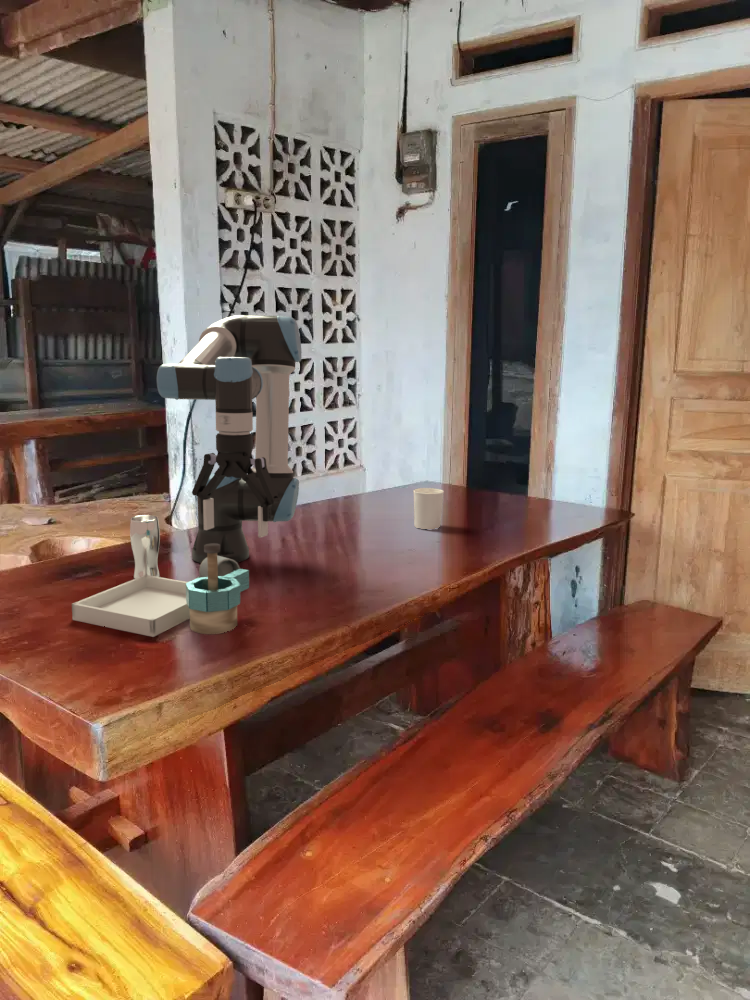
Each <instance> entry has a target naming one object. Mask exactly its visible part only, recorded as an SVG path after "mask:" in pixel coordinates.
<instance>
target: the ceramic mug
mask: <svg viewBox="0 0 750 1000" xmlns="http://www.w3.org/2000/svg"><path fill="white" fill-rule="evenodd" d="M217 563H218V576H225V575H227V574H229V573H231V572H234V571H236V570H238V569H241V567H240V565H239V562H236V561H234V560H232V559H229V558H225V557H221V556H218V555H217ZM199 564H200V565H199V567H198V568H199V569H198V574H199V575H198V576H197V577H195V579H197V578H201V577H208V564H207V557H206V558H205V559H204V560H203V561H202V563H199Z"/></svg>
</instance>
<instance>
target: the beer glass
mask: <svg viewBox="0 0 750 1000" xmlns="http://www.w3.org/2000/svg"><path fill="white" fill-rule="evenodd" d="M160 531H161V530H160V523H159V517H158V516H157V515H149V514H142V515H141V514H140V515H135V516H132V517H130V525H129V536H130V539H129V540H130V544H131V550H132V554H133V558H134V573H133V579H136V578H138V577H141V576H143V575H150V576H156V577H160V571H159V567H158V557H159V550H160V540H161V532H160Z"/></svg>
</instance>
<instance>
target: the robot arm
mask: <svg viewBox="0 0 750 1000" xmlns="http://www.w3.org/2000/svg"><path fill="white" fill-rule="evenodd" d="M301 342H302V341H301V336H300V330H299V325H298V323H297V321H296V319H295V318H293V317H292V316H285V315H284V316H282V315H247V314H246V315H245V314H238V315H232V316H228V317H224V318H221V319H220V320H218V321H215V322H213V323H212V324H210V325H209V326H207V327H206V328H205V329H204V330H203V331H202V332H201V333H200V336H199V340H198V343H197V344H196V345H194V347H193V348H192V349H191V350H190V351H189V352H188V353H187V354H186V355H185V356H184V357H183V358H182V359H181V360H180V361H179V362H178V363H174V362H173V363H163V364H161V365H160V366H159V367H158V369H157V373H156V387H157V391H158V394H159V395H160V396H161V398H164V399H170V400H171V399H172V400H174V399H175V400H176V401H177V400H197V401H198V400H203V401H204V400H205V401H208V400H209V401H215V430H216V431H217V432H218V433H216V434H215V450H216V452H217V454H216V453H214V452H210V453H206V454H204V456H203V464H202V467H201V469H200V472H199V474H198V476H197V479H196V482H195V484H194V486H193V489H192V491H191V495H193V496H196V499H197V524H198V526H197V529H198V530H197V533H196V537H195V540H194V543H193V547H192V548H191V549H192V550H191V556H192V560H193V561H194V562H197V563H199V564H201V563H202V561H203V560H204V559H205V558H206V557H207V553H205V552H204V545H206V544H211V543H215V544H220V552H218V553H217V555H218V556H221V557H225V558H229V559H232V560H234V561H236V562H237V563H240V562H244V561H245V560H247V559H248V558H249V557H250V549H249V546H248V543H247V539H246V536H245V534H244V531H243V521H246V522H257V537H258V538H264V537H266V536H269V522H273V523H277V522H290V520H292V519H293V517H294V516H295V512H296V508H297V505H298V498H299V490H300V481H299V480H300V479H298V478H296V477H294V471H293V469H292V468H291V467H290V466H289V421H290V419H289V418H290V416H289V413H290V412H289V410H290V408H289V407H290V405H289V404H290V375H291V374H292V373H293V372H294V371H295V369H296V363H299V362H301V361H302V357H303V356H302V353H303V352H302V343H301ZM255 398H256V399H255ZM254 399H255V400H256V402H255V405H256V406H255V407H256V409H255V411H256V412H255V458H253V455H252V453H253V449H254V444H253V443H254V440H253V437H254V436H253V434H252V433H250V432H252V431H253V429H254V425H253V421H254V420H253V419H254V417H253V416H254V415H253V400H254ZM216 464H217V466H218V468H217V469H216V470H215V472H213V470H214V467H215V465H216Z"/></svg>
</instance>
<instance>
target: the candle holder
mask: <svg viewBox="0 0 750 1000" xmlns="http://www.w3.org/2000/svg"><path fill="white" fill-rule="evenodd" d="M412 492H413V520H414V528H415V527H416V528H415V529H417V528H421V529H435V528H439V527H440V528H441V523H442V514H443V504H444V494H445V490H443V489H440V488H435V487H434V488H433V487H419V488H415V489H413V491H412ZM440 528H439V529H440ZM421 529H420V530H421Z"/></svg>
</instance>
